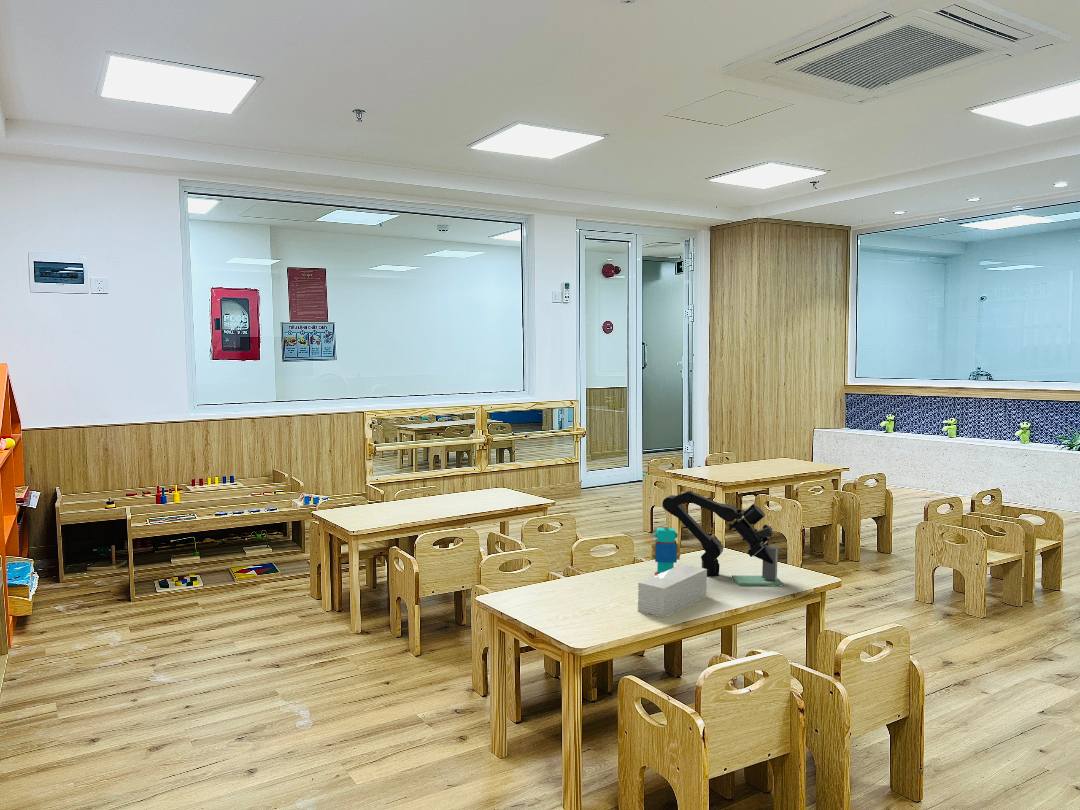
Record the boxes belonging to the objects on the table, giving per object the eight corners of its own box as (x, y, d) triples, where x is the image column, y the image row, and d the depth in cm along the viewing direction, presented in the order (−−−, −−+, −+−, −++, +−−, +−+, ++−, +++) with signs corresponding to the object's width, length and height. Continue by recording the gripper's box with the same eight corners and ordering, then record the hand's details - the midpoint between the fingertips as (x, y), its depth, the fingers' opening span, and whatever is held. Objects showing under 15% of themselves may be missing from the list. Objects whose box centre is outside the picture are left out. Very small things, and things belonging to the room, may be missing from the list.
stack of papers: (663, 618, 276) (664, 588, 275) (637, 611, 283) (638, 582, 282) (706, 596, 301) (707, 569, 300) (681, 591, 307) (682, 564, 307)
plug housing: (762, 578, 318) (763, 547, 317) (764, 574, 323) (765, 544, 322) (774, 579, 316) (775, 549, 315) (776, 576, 321) (777, 546, 320)
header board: (738, 585, 314) (738, 577, 314) (731, 577, 325) (731, 569, 325) (783, 586, 314) (783, 577, 314) (775, 578, 325) (775, 569, 325)
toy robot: (678, 577, 324) (680, 518, 322) (679, 582, 318) (681, 521, 316) (650, 576, 325) (651, 517, 324) (651, 581, 319) (652, 520, 318)
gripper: (757, 524, 311) (785, 554, 307) (765, 515, 328) (792, 544, 324) (736, 541, 315) (763, 572, 311) (745, 531, 332) (771, 560, 328)
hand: (773, 561), depth 318 cm, fingers closed on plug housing, 5 cm apart
